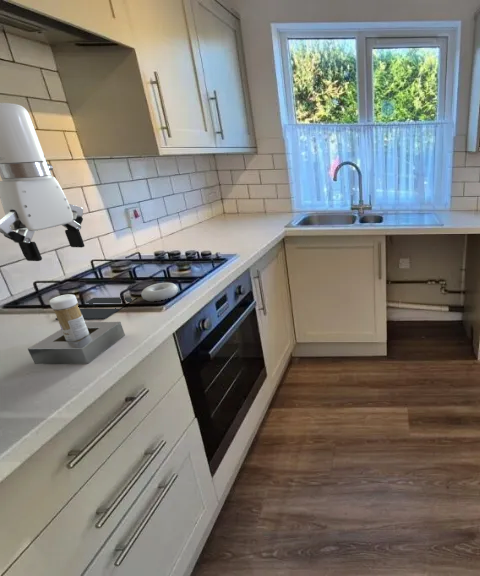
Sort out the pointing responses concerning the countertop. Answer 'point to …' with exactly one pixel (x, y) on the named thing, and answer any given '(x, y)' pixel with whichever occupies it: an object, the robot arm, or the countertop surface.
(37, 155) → the robot arm
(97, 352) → the stand
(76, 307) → the sprinkles bottle
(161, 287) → the donut
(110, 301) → the mat
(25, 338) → the countertop surface
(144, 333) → the countertop surface
